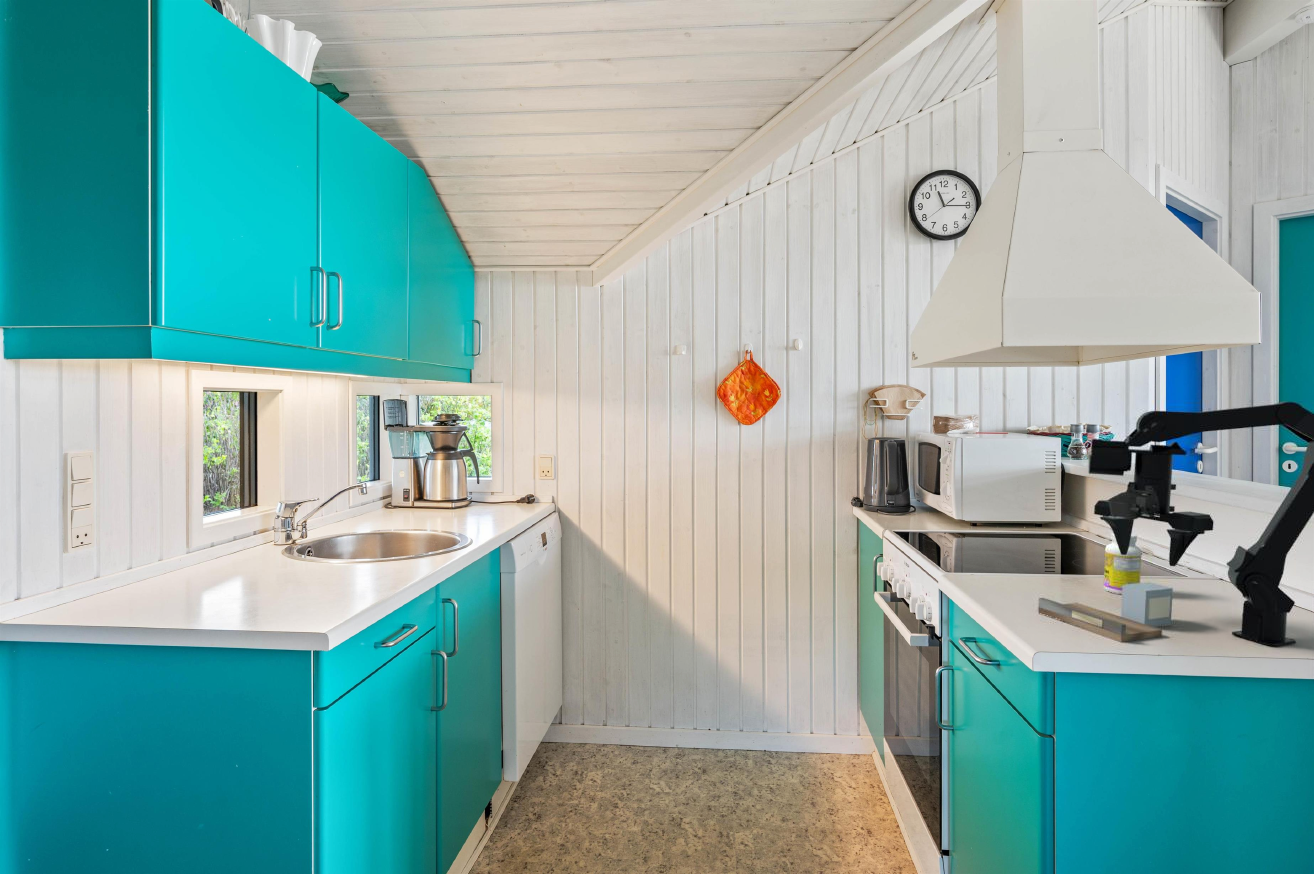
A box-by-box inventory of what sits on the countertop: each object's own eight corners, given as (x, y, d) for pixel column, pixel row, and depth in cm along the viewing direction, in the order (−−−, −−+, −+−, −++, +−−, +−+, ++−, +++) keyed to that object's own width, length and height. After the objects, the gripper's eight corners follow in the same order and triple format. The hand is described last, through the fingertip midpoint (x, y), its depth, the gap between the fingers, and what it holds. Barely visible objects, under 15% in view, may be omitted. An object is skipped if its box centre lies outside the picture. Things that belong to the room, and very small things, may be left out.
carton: (1120, 620, 132) (1122, 584, 131) (1147, 617, 134) (1148, 582, 134) (1145, 628, 127) (1147, 591, 127) (1171, 625, 130) (1173, 588, 129)
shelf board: (1076, 608, 139) (1076, 593, 139) (1161, 636, 123) (1162, 619, 123) (1037, 612, 136) (1038, 597, 136) (1120, 642, 120) (1121, 625, 120)
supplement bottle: (1105, 586, 157) (1108, 530, 156) (1140, 591, 153) (1143, 534, 152) (1101, 592, 152) (1104, 534, 151) (1138, 598, 147) (1141, 538, 147)
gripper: (1075, 472, 135) (1071, 551, 136) (1174, 485, 118) (1168, 575, 119) (1116, 472, 139) (1112, 548, 140) (1218, 483, 121) (1212, 571, 122)
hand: (1147, 560), depth 130 cm, fingers open, 9 cm apart
